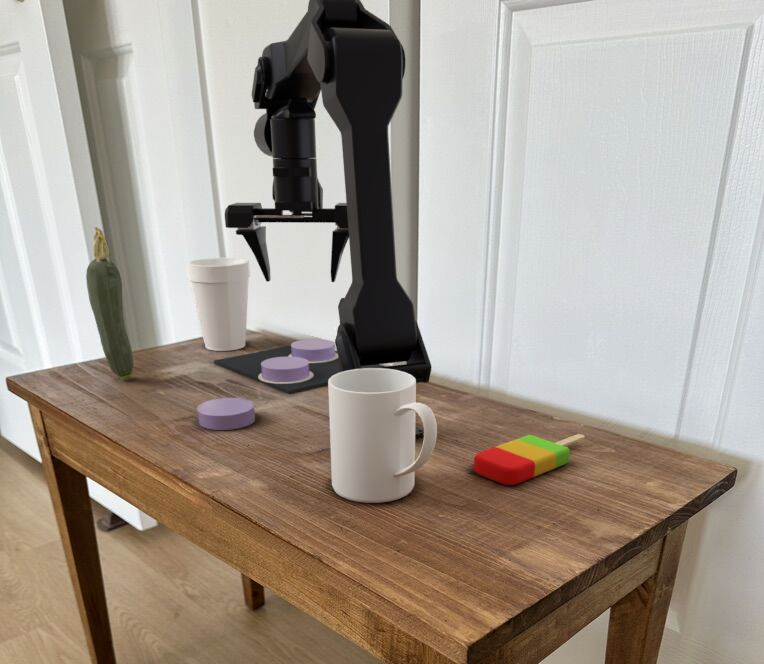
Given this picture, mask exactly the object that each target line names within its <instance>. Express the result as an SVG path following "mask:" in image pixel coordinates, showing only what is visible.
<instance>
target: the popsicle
mask: <svg viewBox="0 0 764 664" xmlns="http://www.w3.org/2000/svg"><path fill="white" fill-rule="evenodd" d="M585 436H586V435H584V434H581V433H577V434H574V435H572V436H568V437H567V438H564V439H561V440H558V441H556V442H553V441H551V440H547V439H545V438H541V437H538V436H536V435H532V434H527V435H524V436H520V437H518V438H516V439H514V440H510V441H508V442H507V441H506V442H505V443H501V444H499V445H496V446H493V447H491V448H488V449H486V450H483V451H480V452H478V453H476V454H475V455H474V458H473V471H474V472H475V473H476V474H477V475H479V476H482V477H483V478H486V479H488V480H491V481H494V482H496V483H499V484H501V485H505V486H514V485H518V484H521V483H523V482H525V481H528V480H531V479H533V478H536V477H538V476H540V475H542V474H544V473H545V474H546V473H548V472H550V471H552V470H554V469H557V468H560V467H561V466H564V465H566V464H568V463H569V461H570V456H571V455H570V454H571V451H570V450H571V449H570V448H569V447H568V446H570V445H572V444H575V443H577V442H579V441H583V440H585V439H586V437H585Z"/></svg>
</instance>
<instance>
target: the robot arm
mask: <svg viewBox="0 0 764 664" xmlns="http://www.w3.org/2000/svg"><path fill="white" fill-rule="evenodd" d="M405 73H406V53H405V48H404V46H403V45H402V43H401V40H400V39H399V38H398V36H397V34H396V33H395V31H394V30H393V28H392V26H391V25H390V24H389V23H387V22H386V21H384V20H383V19H382V18H380V17H379V16H377V15H375V14H374V13H372V12H370V11H369V10H367V9H366V8H365V5H364V4H363V3H362V0H308V4H307V11H306V12H305V14H304V15H303V17H302V18H301V20H300V21H299V22H298V24H297V26H296V27H295V28H294V30H293V31H292V32H291V34H290V35H289V37H288V39H286V40H282V41H277V42H271V43H270V44H268V45H266V46H265V47H264V48H263V50H262V53H261V56H259V57H258V59H257V65H256V67H255V68H254V73H253V79H252V80H253V82H252V86H251V87H252V88H251V99H252V103H253V105H254V109H255V110H265V113H263V114H261V115H260V116H259V118H258V119H257V120H256V123H255V125H254V130H253V139H254V142H255V144H256V146H257V148H258V149H259V151H261V153H262V154H264V155H266V156H268V157H271V158H272V177H273V181H272V189H271V190H272V194H271V196H272V200H273V201H274V208H273V207H271V208H270V207H269V208H267V207H263V205H262V203H261V202H235V203H231V204H228V205H227V207H226V208H225V209H224V224H225V228H228V229H236V230H235V234H236V235H238V236H242V237H243V238H244V240H245V242H246V243H247V246H248V247H249V249H250V250H251V252H252V253H253V255H254V258H255V260H256V262H257V264H258V266H259V269H260V271H261V273H262V276H263V277H264V279H265V282H267V283H268V282H270V281H271V277H272V276H271V266H270V265H271V264H270V259H269V252H268V245H267V234H266V233H267V226H264V225H262V223H298V224H299V223H301V224H302V223H305V224H306V223H307V224H309V223H313V224H316V223H317V224H318V223H319V224H320V223H322V224H325V223H328V224H329V223H331V224H333V223H334V225H335V226H336V228H335V229H333V230H332V236H331V252H330V253H331V254H330V255H331V256H330V257H331V258H330V280H331V281H330V282H331V283H335V282H336V279H337V275H338V273H339V269H340V266H341V265H340V264H341V261H342V257H343V254H344V251H345V248H346V245H347V243H348V241H349V255H350V267H351V284H350V286H349V287H348V291H347V292H346V294H345V296H344V297H341V298H340V299H339V302H338V306H337V310H338V311H337V312H338V318H339V325H338V326H337V330H336V336H335V339H334V343H335V349H336V351H337V352H338V358H339V365H340V372H344V371H348V370H354V369H361V366H369V365H385V364H386V365H387V364H394V363H403V362H406V364H397V365H396V364H395V365H388V366H385V367H378V368H383V369H393V370H398V371H402V372H406V373H408V374H410V375H412V376H413V377H414V378H415V379H416V384H419V383H422V384H423V383H424V384H427V383H429V382H430V378H431V374H432V363H431V360H430V358H429V354H428V351H427V348H426V344H425V342H424V339H423V336H422V332H421V330H420V328H419V327H420V326H419V324H418V322H417V320H416V314H415V306H414V302H413V301H412V299H411V298H410V296H409V294H408V293H407V291H406V290H405V289H404V287H403V286H402V284H401V283H400V281H399V280H398V274H397V260H396V257H397V256H396V245H395V244H396V242H395V241H396V240H395V225H394V208H393V190H392V175H391V172H392V171H391V157H390V156H391V155H390V138H389V137H390V136H389V125H390V123H391V122H392V119H393V118H394V116H395V115H394V114H395V113H396V110H397V109H398V106H399V104H400V103H401V100H402V98H403V80H404V76H405ZM320 94H321V99H322V105H323V108H324V109H325V111H326V112H327V114H328V115H329V117H330V118H331V120H332V121H333V123H334V124H335V126H336V127H337V129H338V131H339V132H340V136H341V137H340V138H341V149H342V162H343V163H342V164H343V174H344V175H343V176H344V187H345V188H344V189H345V201H346V202H338V203H336V204H335V205H334V207H333V208H330V207H329V208H328V207H327V208H324V188H323V187H322V185H321V183H320V181H319V177H318V166H317V165H318V164H317V163H318V162H317V139H316V120H315V119H316V118H317V113H316V111H315V109H316V106H317V103H318V101H319V97H320ZM285 211H286V212H287V211H288V212H289V213H291V214H284V212H285ZM420 437H424V429H423V428H419V427H418V426H417V427H416V426H415V439H417V438H420Z"/></svg>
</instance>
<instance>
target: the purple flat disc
mask: <svg viewBox="0 0 764 664" xmlns="http://www.w3.org/2000/svg"><path fill="white" fill-rule="evenodd" d="M196 412H197V421H198V424H199V426H200V427H201V428H204V429H207V430H211V431H233V430H238V429H242V428H245V427H249V426H250V425H252V424H253V423H255V421H256V409H255V404H254V402H253V401H251V400H249V399H245V398H242V397H241V398H240V397H221V398H215V399H210V400H207V401H204V402H202V403H200V404H199V405H198V406H197V408H196Z"/></svg>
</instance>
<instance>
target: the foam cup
mask: <svg viewBox="0 0 764 664" xmlns="http://www.w3.org/2000/svg"><path fill="white" fill-rule="evenodd" d="M185 268H186V277H187V280H188V281H189V286H190V289H191V293H192V298H193V302H194V306H195V311H196V314H197V318H198V322H199V327H200V330H201V335H202V339H203V343H204V344H205V346H204V347H205V348H206V350H210V351H218V352H226V351H228V352H229V351H235V350H240V349H242V348H245V346H246V340H247V323H248V322H247V320H248V301H249V300H248V298H249V279H250V277H251V271H250V260H248V259H246V258H240V257H239V258H238V257H207V258H196V259H192V260H188V261H187V262H186V263H185Z"/></svg>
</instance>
